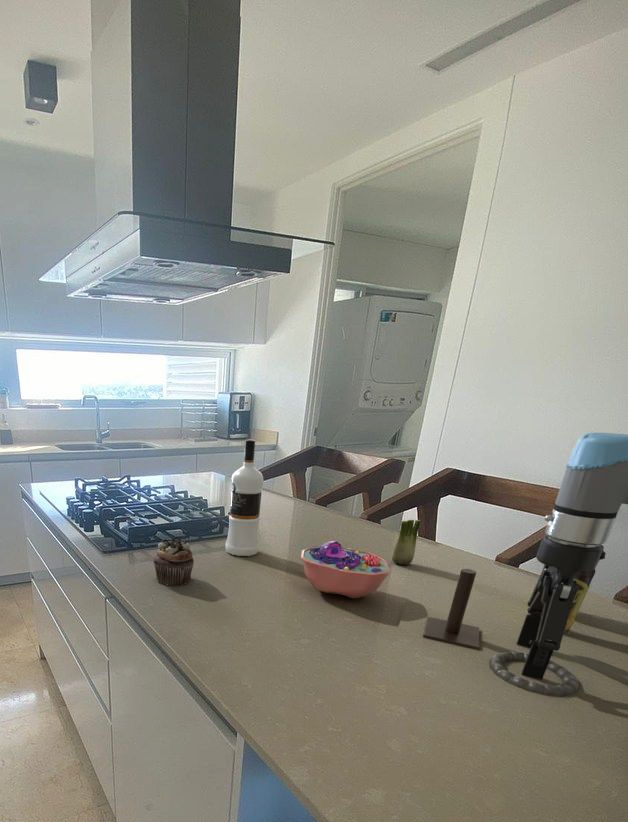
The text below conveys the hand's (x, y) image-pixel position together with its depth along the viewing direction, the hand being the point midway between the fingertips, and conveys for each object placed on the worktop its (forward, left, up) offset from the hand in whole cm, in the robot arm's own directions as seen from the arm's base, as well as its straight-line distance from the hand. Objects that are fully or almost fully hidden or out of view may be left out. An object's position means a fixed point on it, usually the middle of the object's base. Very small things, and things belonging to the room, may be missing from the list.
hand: (527, 663), depth 83 cm
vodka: (+65, -30, 0) cm, 72 cm away
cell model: (+35, -15, 0) cm, 38 cm away
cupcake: (+71, -2, 0) cm, 71 cm away
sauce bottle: (-5, -18, 0) cm, 19 cm away
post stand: (+12, -4, 0) cm, 13 cm away
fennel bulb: (+25, -44, 0) cm, 51 cm away
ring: (0, +5, +1) cm, 5 cm away
